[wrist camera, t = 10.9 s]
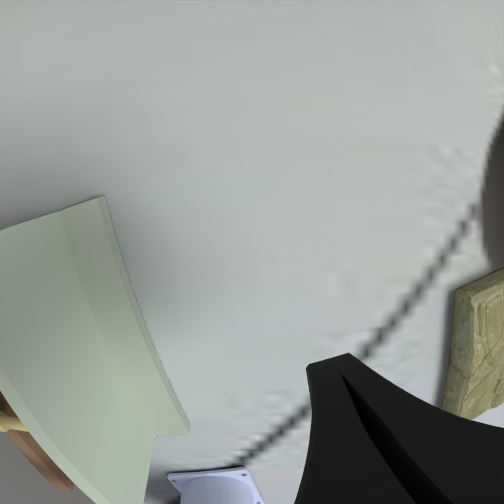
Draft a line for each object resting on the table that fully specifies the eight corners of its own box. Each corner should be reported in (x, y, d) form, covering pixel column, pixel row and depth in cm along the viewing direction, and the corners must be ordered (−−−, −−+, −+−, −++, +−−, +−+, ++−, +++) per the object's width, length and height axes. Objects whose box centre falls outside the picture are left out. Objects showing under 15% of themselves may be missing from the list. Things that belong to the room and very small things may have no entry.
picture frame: (91, 436, 19) (71, 490, 13) (77, 435, 19) (56, 487, 13) (-4, 251, 14) (-65, 283, 8) (-17, 256, 14) (-75, 288, 8)
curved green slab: (190, 423, 21) (181, 529, 12) (108, 428, 21) (77, 517, 11) (105, 195, 16) (-6, 227, 7) (15, 228, 16) (-89, 273, 7)
